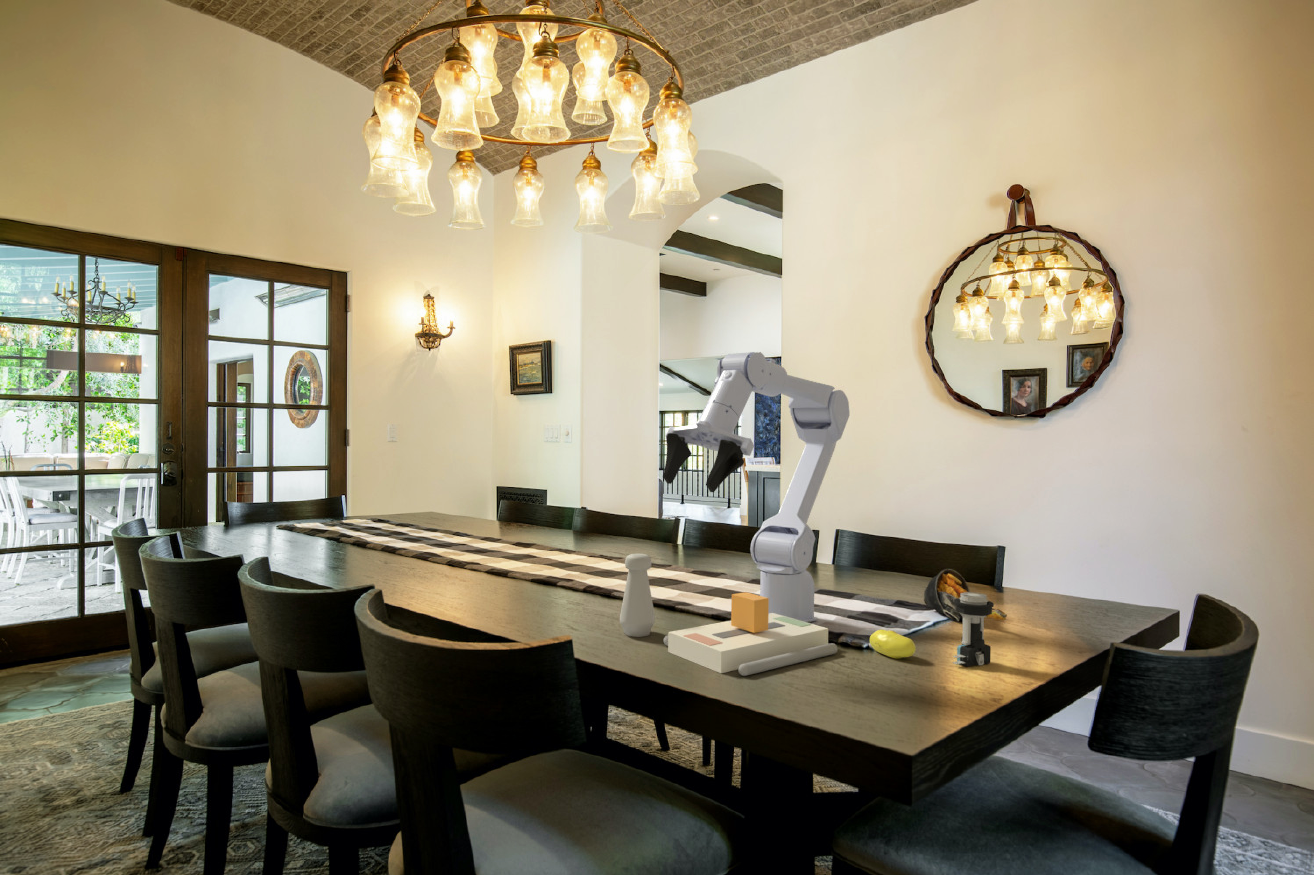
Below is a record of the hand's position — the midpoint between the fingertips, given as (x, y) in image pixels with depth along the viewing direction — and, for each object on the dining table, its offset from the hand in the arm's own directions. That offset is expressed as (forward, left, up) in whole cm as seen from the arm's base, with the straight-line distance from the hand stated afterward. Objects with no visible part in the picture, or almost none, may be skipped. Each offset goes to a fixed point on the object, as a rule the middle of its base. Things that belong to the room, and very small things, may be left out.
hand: (687, 484), depth 112 cm
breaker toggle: (-8, +5, -22) cm, 24 cm away
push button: (-30, +28, -25) cm, 49 cm away
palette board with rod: (-8, +5, -25) cm, 27 cm away
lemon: (-24, +19, -26) cm, 40 cm away
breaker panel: (-8, +5, -25) cm, 27 cm away
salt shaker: (+1, -12, -25) cm, 28 cm away
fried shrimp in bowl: (-53, +13, -26) cm, 61 cm away
